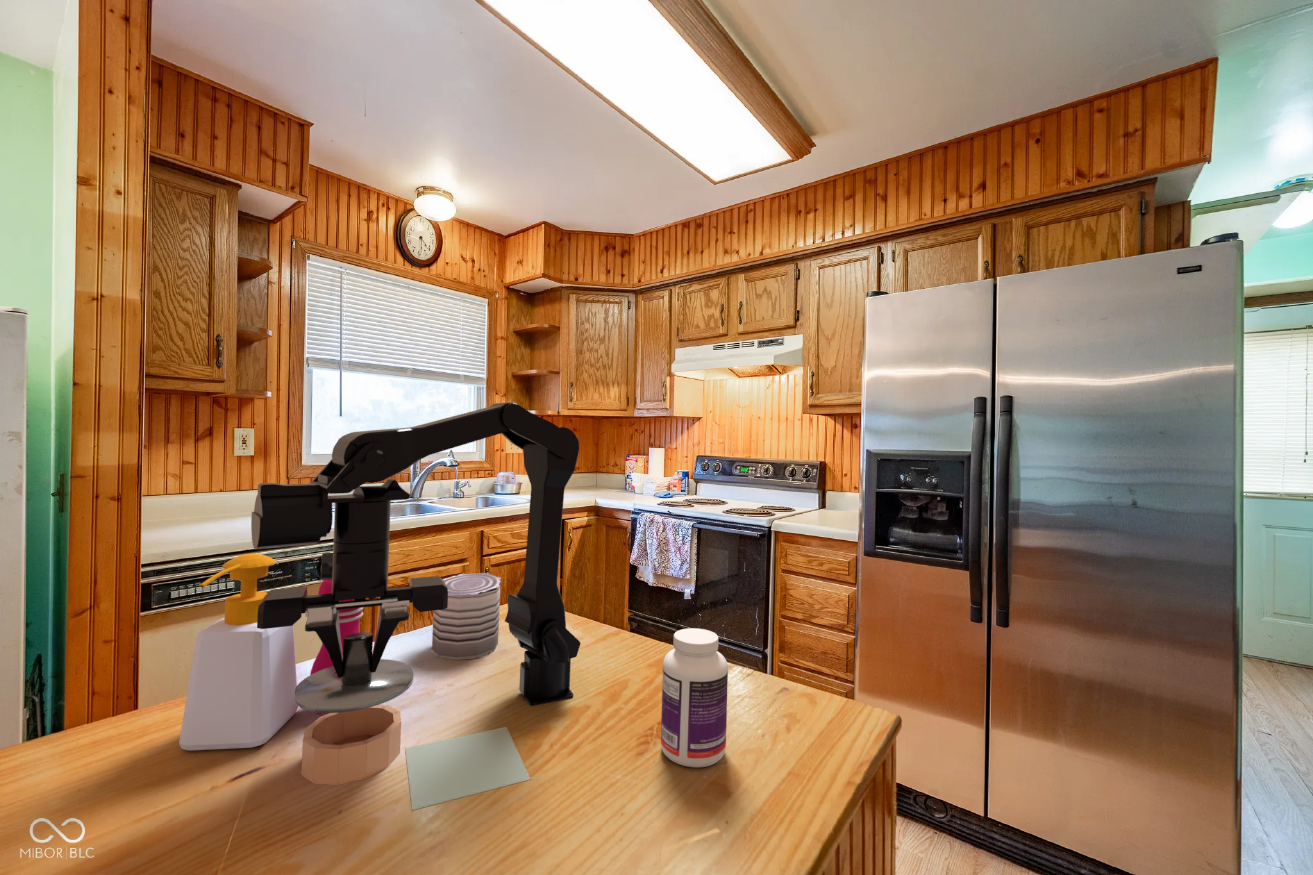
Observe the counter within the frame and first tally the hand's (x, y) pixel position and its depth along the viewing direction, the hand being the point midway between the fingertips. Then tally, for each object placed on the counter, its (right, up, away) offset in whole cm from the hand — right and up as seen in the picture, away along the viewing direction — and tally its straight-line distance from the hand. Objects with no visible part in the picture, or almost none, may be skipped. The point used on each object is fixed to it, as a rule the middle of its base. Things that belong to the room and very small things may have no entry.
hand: (357, 673), depth 63 cm
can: (+1, -10, +34) cm, 36 cm away
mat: (+13, -10, 0) cm, 16 cm away
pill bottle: (+39, -12, +4) cm, 41 cm away
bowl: (0, -10, 0) cm, 10 cm away
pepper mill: (-9, -10, +12) cm, 18 cm away
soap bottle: (-17, -10, +3) cm, 19 cm away
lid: (0, -2, 0) cm, 2 cm away
